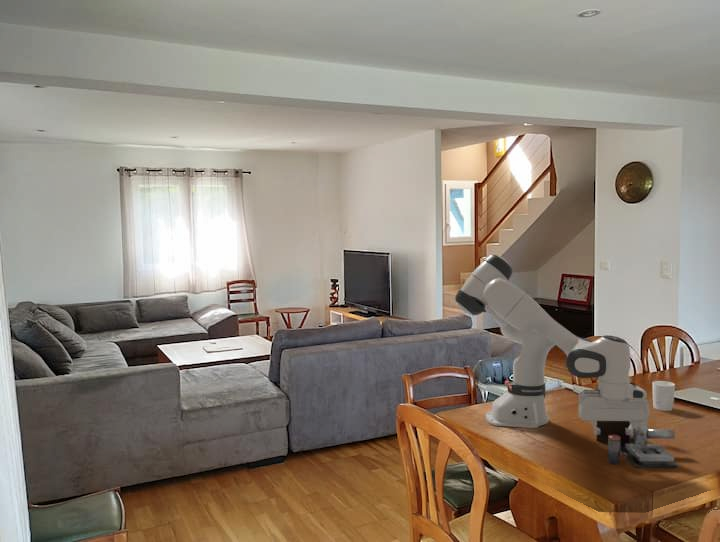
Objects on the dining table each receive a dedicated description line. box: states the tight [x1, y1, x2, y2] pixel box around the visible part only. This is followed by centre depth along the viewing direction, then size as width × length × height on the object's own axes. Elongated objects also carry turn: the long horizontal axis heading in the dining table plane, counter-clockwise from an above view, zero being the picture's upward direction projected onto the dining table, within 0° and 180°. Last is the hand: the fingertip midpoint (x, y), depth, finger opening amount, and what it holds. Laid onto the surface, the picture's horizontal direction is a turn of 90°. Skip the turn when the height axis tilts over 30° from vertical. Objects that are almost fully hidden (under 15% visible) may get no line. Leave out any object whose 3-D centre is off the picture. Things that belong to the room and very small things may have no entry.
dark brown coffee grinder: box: [596, 381, 638, 445], centre depth 203 cm, size 16×11×18 cm
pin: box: [607, 435, 621, 465], centre depth 181 cm, size 3×3×8 cm
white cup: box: [651, 380, 676, 412], centre depth 232 cm, size 8×8×10 cm
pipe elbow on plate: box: [620, 419, 678, 469], centre depth 184 cm, size 16×16×15 cm
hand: (612, 434), depth 181 cm, fingers open, 8 cm apart
